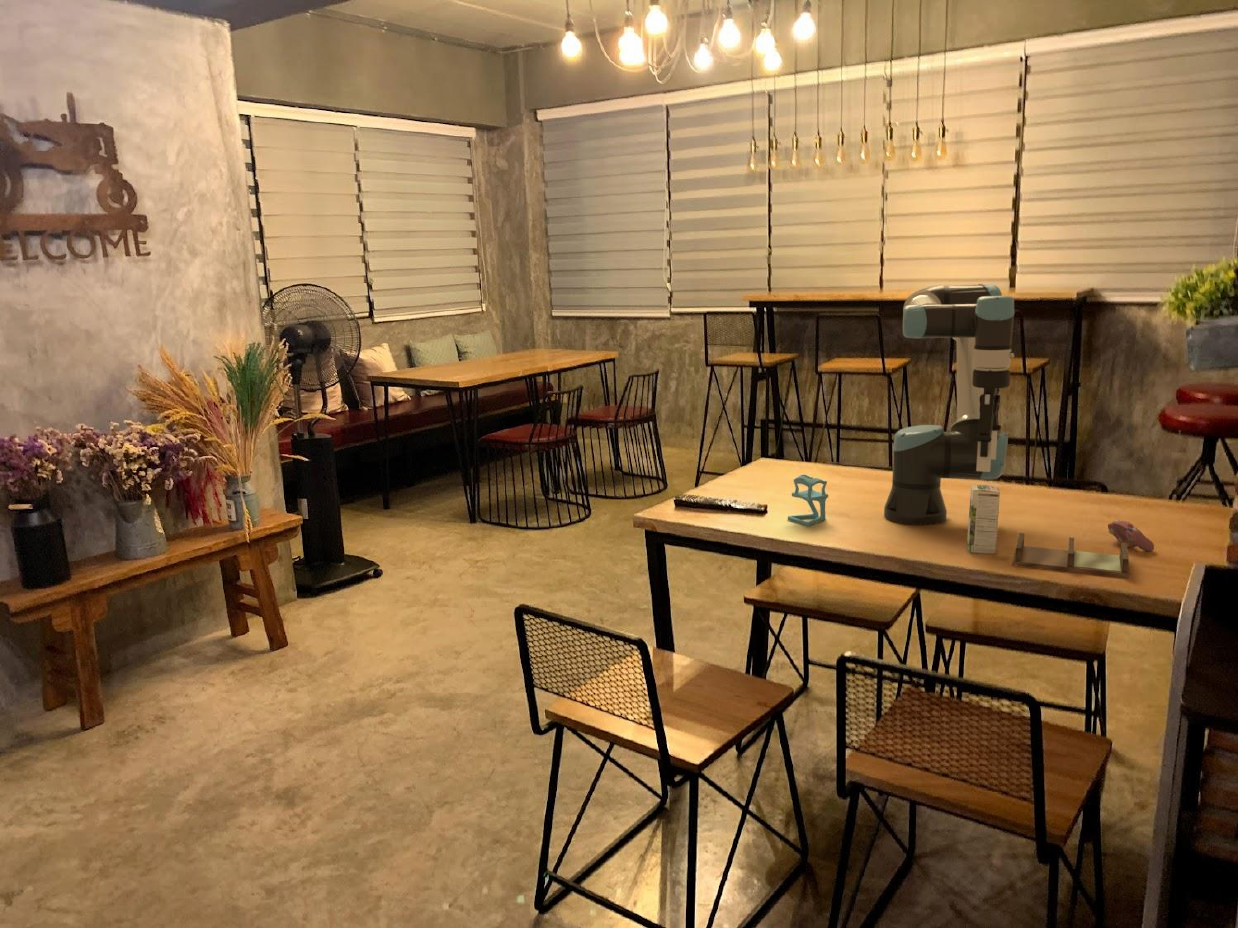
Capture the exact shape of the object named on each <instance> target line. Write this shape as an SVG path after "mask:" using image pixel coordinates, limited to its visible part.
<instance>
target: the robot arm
mask: <svg viewBox="0 0 1238 928" xmlns="http://www.w3.org/2000/svg"><path fill="white" fill-rule="evenodd" d="M902 313H903V314H902V334H903V337H904V338H907V339H916V340H917V339H918V340H919V339H940V338H941V339H943V338H945V339H946V338H952V339H953V340H954V341H956V421H955V422H953V423H952V425H951V426H950V431H945V429H944V427H943V426H942V425H939V424H920V425H915V426H908V427H903V428H901V429H899V430H898V431H896V432H895V434H894V437H893V438H894V439H893V447H892V452H893V458H892V459H893V460H892V462H893V463H892V477H891V478H892V483H891V485H892V486H891V488H890V492H889V494H888V497H887V499H886V502H885V505H884V509H883V510H884V511H883V516H884V518H885V519H887V520H889V521H891V522H894V523H898V524H904V525H914V526H928V525H937V524H941V523H943V522H945V521H947V507H946V504H945V499H944V497H943V494H942V490H941V483H942V481H941V479H954V480H955V479H957V480H979V481H983V480H997V479H999V478H1000V477H1001V475H1002V474H1003V472H1004V471H1003V470H1004V467H1005V462H1006V456H1007V452H1008V441H1009V437H1008V436H1009V435H1008V433H1006V432H1004V431H1001V430H1002V429H1001V428H1002V426H1001V424H1000V423H999V411H1000V402H1001V394H1000V389H1007V388H1008V387H1009V386H1010V385H1011V382H1010V381H1011V370H1010V369H1009V368H1010V367H1011V362H1012V359H1013V358H1015V353H1013V352H1012V345H1013V331H1014V330H1013V329H1014V318H1015V317H1014V316H1015V313H1016V311H1015V299H1014V297H1012V296H1010V295H1003V294H1002V291H1001V289H1000V287H999V286H997V285H995V284H984V283H978V284H959V285H958V284H953V285H951V284H950V285H948V284H946V285H942V284H941V285H933V286H928V287H925V288H922V289H919V290H916V291H915V292H913V293H912V294H911V295H910V296H908V297H907V298H906V300H905V301H904V304H903V306H902Z"/></svg>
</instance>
